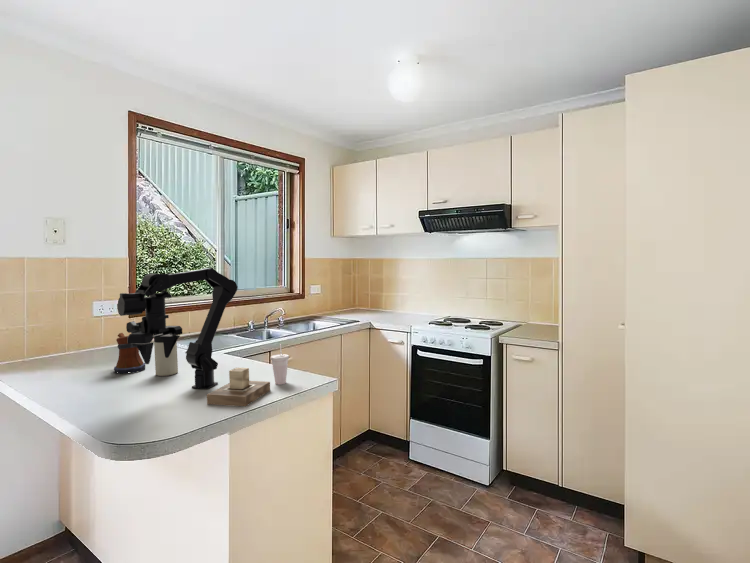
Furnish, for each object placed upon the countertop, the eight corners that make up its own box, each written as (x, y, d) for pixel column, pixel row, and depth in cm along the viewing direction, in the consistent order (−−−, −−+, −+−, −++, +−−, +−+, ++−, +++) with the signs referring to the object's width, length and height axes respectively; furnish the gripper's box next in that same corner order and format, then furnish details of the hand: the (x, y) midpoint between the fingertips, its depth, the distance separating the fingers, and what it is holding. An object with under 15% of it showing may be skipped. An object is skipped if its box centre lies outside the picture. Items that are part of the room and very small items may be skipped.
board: (235, 388, 148) (235, 379, 148) (270, 390, 145) (269, 381, 145) (207, 404, 132) (206, 393, 132) (245, 406, 130) (245, 395, 129)
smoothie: (293, 382, 155) (292, 343, 154) (280, 386, 149) (278, 346, 149) (281, 379, 158) (279, 341, 158) (267, 383, 153) (266, 344, 152)
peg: (237, 394, 141) (236, 367, 141) (249, 395, 140) (248, 367, 140) (230, 398, 137) (229, 370, 137) (242, 399, 136) (241, 371, 136)
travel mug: (172, 376, 166) (170, 330, 166) (151, 376, 166) (149, 330, 166) (181, 371, 174) (179, 326, 174) (161, 371, 174) (159, 327, 174)
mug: (107, 368, 182) (105, 333, 181) (137, 363, 190) (135, 329, 189) (117, 376, 169) (115, 338, 168) (149, 370, 177) (147, 334, 176)
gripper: (153, 309, 149) (155, 354, 150) (110, 315, 131) (113, 366, 132) (182, 309, 147) (184, 354, 148) (142, 316, 129) (144, 368, 129)
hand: (157, 360), depth 139 cm, fingers open, 9 cm apart
